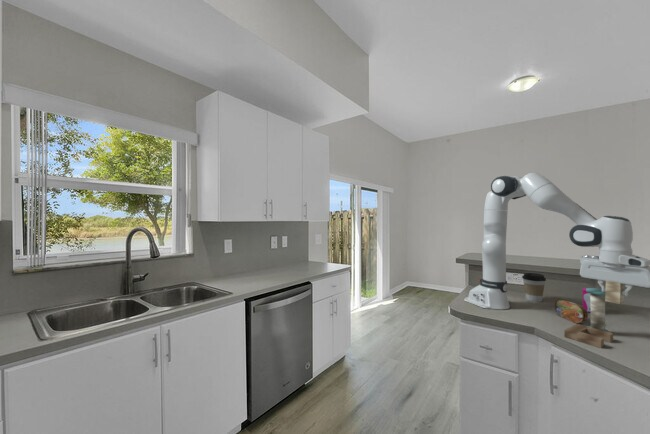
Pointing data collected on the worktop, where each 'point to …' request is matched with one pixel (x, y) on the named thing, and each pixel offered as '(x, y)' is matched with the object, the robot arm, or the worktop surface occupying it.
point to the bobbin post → (597, 308)
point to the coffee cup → (534, 286)
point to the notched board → (588, 335)
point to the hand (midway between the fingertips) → (614, 293)
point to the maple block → (614, 292)
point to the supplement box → (586, 300)
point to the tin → (571, 311)
